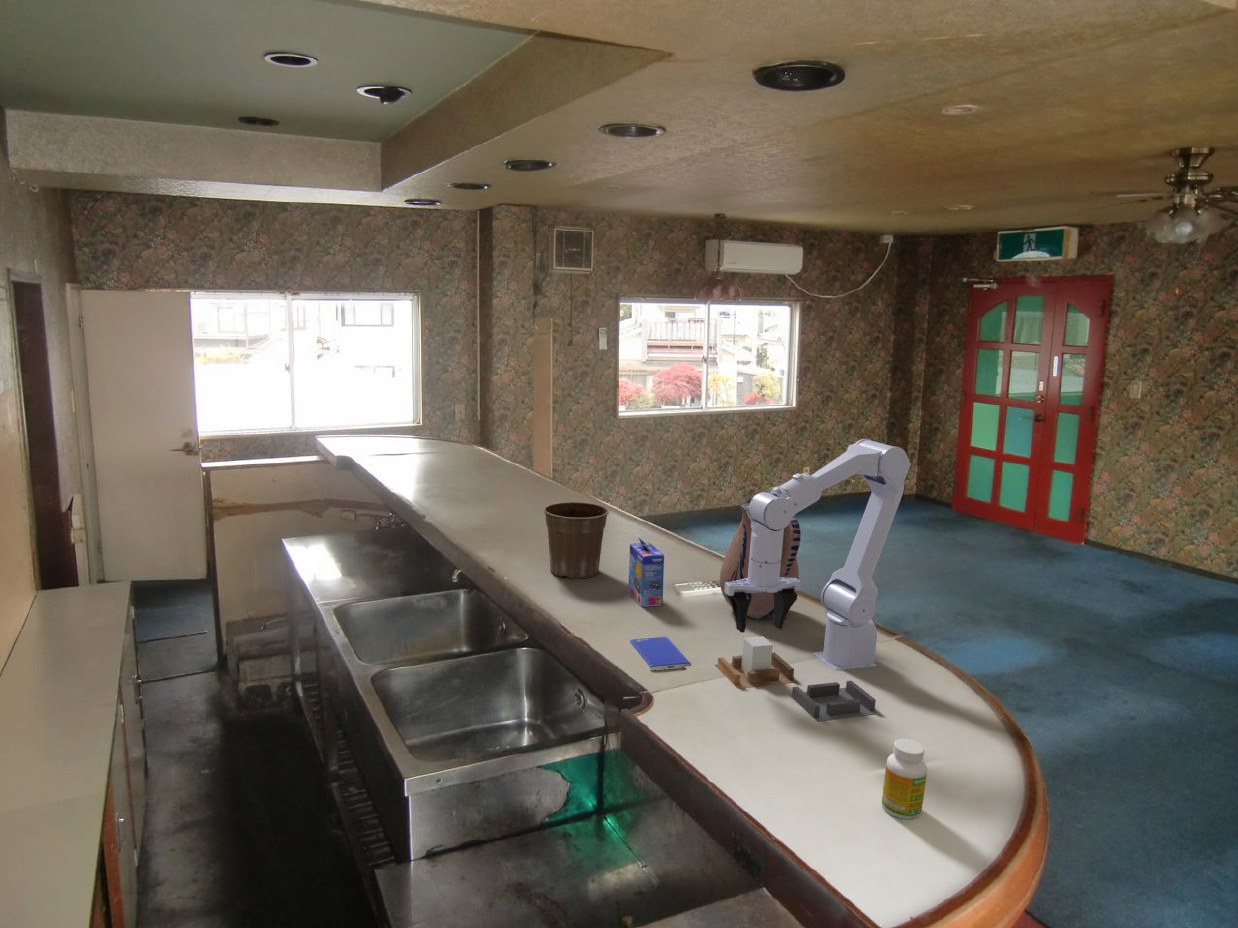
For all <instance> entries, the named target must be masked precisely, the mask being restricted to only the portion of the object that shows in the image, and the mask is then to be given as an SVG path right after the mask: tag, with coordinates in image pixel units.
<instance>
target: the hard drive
mask: <svg viewBox="0 0 1238 928" xmlns="http://www.w3.org/2000/svg"><path fill="white" fill-rule="evenodd" d="M629 646H630V647H631V648H632V650H633V651H634V650H635V651H636V652H637V653H636V652H635V651H634V652H635V653H636V655H637V656H638V655H639V656H640V657H641V658H640V657H639V656H638V657H639V658H640V660H641V661H642V660H643V661H644V662H643V661H642V662H643V663H644V665H645V664H646V665H647V666H648V667H647V666H646V665H645V666H646V667H647V668H648V670H649V669H650V670H653V671H654V670H656V671H664V669H666V670H672V669H673V670H675V668H676V669H685V668H686V666H692V665H691V662H690V661H689V659H687V657H686V656H685V655H684V654H683V653H682V652H681V651H680V650H679V648H678V647H677V646H676V645H675V643H673V642H672V641H671V640H670V638H669V637H667V636H659V637H658V636H657V637H647V638H635V639H630V641H629ZM682 667H684V668H682ZM650 670H649V671H650ZM653 671H652V672H653Z"/></svg>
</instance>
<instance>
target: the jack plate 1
mask: <svg viewBox="0 0 1238 928" xmlns="http://www.w3.org/2000/svg"><path fill="white" fill-rule="evenodd" d="M731 658H732V660H731V663H729V662H728V660H726V658H724V657H718V658H717V664H714V666H715V667H716V668H717V670H718V671H720V673H722V675H724V676H725V677H726V678H727V679H728V680H729V681H730V683H731V684H732V685H733V686H734V687H735V688H736V689H738V690H740V689H745V688H746V689H748V688H759V687H767V686H775V685H787V684H794V683H797V681H796V680H795V678H794V673H795V668H793V667H792V666H791V665H790V664H789V663H788V662H787V661H785V660H784V659H783V658H782V657H781V656H779V655H778V654H777V653H776V652H772V660H771V669H765V670H755V671H748V677H747V676H746V675H745V674H744V673H743V672H742V671H741V664H742V655H736V656H735V655H734V656H732V657H731Z"/></svg>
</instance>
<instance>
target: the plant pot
mask: <svg viewBox="0 0 1238 928" xmlns="http://www.w3.org/2000/svg"><path fill="white" fill-rule="evenodd" d="M543 512H544V514H545V523H546V524H545V525H546V527H547V533H548V537H547V538H548V551H549V553H548V554H549V566H550V567H549V569H550V572H551V573H552V574H553V575H555V576H558V577H561V578H563V577H564V576H565V577H567V578H568V579H587V578H590V577H594V576H595V575H596V574H599V570H600V561H601V553H602V545H603V538H604V537H603V536H604V530H605V528H606V525H607V517H608V515H609V514H610V510H609V508H607V507H605V506H604V505H600V504H597V503H590V502H582V501H581V502H580V501H566V502H563V501H562V502H556V503H551V504H548V505H546V506H545V507H543Z"/></svg>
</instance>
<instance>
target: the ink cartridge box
mask: <svg viewBox="0 0 1238 928" xmlns="http://www.w3.org/2000/svg"><path fill="white" fill-rule="evenodd" d="M638 540H639V542H640V543H638V542H637V543H636V542H635V543H630V544H629V566H628V587H627V588H628V592H627V593H628V594H629V595H630V596H631V597H632V598H633V600H634V601H635V602H636V603H637V604H638V605H639V606H640V607H641V608H645V607H646V608H647V607H661V606H663V603H664V601H663V600H664V576H665V575H664V573H665V554H663V553H662V551H660V550H658V549H657V548H656V546H654V545H653V544H652V543H651V542H645V541H644V540H642V539H641V537H638Z"/></svg>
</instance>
